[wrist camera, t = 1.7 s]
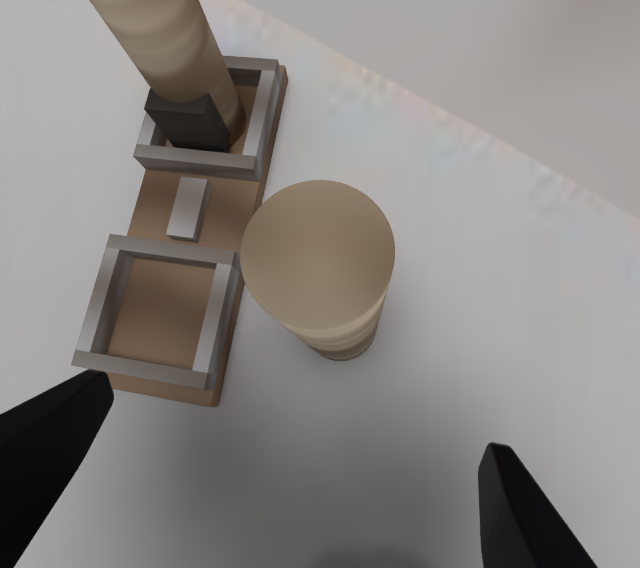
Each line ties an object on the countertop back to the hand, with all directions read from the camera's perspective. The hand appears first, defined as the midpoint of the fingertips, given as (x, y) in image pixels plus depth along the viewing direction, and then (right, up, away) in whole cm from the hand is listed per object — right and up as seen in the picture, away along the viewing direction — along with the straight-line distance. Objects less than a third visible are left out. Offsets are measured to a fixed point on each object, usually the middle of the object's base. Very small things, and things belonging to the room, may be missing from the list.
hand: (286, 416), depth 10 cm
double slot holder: (-7, +7, +16) cm, 19 cm away
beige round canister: (+2, +1, +14) cm, 14 cm away
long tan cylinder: (-6, +13, +16) cm, 22 cm away
